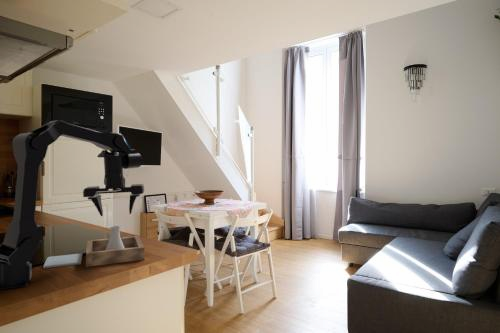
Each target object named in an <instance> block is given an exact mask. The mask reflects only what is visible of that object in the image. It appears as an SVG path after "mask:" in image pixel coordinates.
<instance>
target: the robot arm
mask: <svg viewBox="0 0 500 333" xmlns="http://www.w3.org/2000/svg"><path fill="white" fill-rule="evenodd" d="M60 137H65V138H68V139H73V140H78V141H81V142H86V143H89V144H90V143H91V144H92V145H94V146H96V147H97V148H100V149H102V150H101V152H100V153H99V154H98V155H97V158H103V165H104V166H103V167H104V178H103V185H104V186H105V187H104V188H103V187H100V186H99V185H95V186H94V185H93V186H87V187H86V188H84V189H83V191H82V197H83V198H87V200H90V201H91V202H92V203H93V205H94V206H95V207H96V209H97V211H98V213H99V215H100V217H103V215H104V210H103V204H102V194H103V195H104V194H117V193H118V194H119V193H120V194H121V193H131V194H130V195H129V205H128V208H129V210H128V211H129V215H131V214H132V212H133V208H134V204H135V201H136V200H137V197H140V195H142V194H144V192H145V186H144V184H142V183H137V184H135V183H134V184H131V185H130V186H126V179H125V177H124V170H125V169H135V168H136V169H137V168H140V167H142V165H143V158H142V155H141V154H140V153H139V149H136V148H135V149H131V148H130V147H129V145H128V144H127V142H126V141H125V138H124V137H123V135H122V134H121V133H119V132H108V131H107V132H106V131H104V132H103V131H97V130H94V129H91V128H86V127H82V126H79V125H75V124H71V123H69V122H65V121H64V120H51V121H48V122H47V123H45V124H43V125H42V126H39V127H38V128H36V129H33V130H31V131H29V132H25V133H19V134H17V135H16V136H14V137H13V140H12V142H11V143H12V153H13V156H14V159H15V162H16V164H17V172H16V174H17V175H16V183H15V184H16V185H15V196H14V206H13V207H14V208H13V216H12V217H13V218H12V221H11V222H10V224H9V225H8V227H7V229H6V232H5V235H4V239H3V242H2V243H1V244H0V291H1V290H8V289H15V288H23V287H26V286H27V285H28V284H29V282H30V281H31V279H32V275H33V274H32V269H33V267H32V265H33V264H32V263H31V262H32V260H33V258H34V255H35V252H36V250H38V249H39V248H40V246H41V242H43V241H44V239H43V232H44V226H43V225H39V224H37V222H36V209H37V197H38V186H39V185H38V184H39V175H40V174H39V172H40V166H41V165H42V163H43V161H44V160H45V158H46V155H47V151H48V148H49V146H50V145H52V144H53V143H55V142H56V141H57V140H58V139H59V138H60Z"/></svg>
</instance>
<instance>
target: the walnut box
mask: <svg viewBox="0 0 500 333" xmlns="http://www.w3.org/2000/svg"><path fill="white" fill-rule="evenodd" d="M109 239H110V238H102V239H101V238H99V239H90V240H89V239H88V240H87V244H86V249H85V250H86V251H85V252H86V253H85V267H87V268H88V267H96V266H104V265H113V264H119V263H120V264H121V263H129V262H135V261H136V262H137V261H143V260H145V245H144V244H143V242H142V240H141V238H140V236H139V235H136V236H135V235H134V236H123V237H121V240H122V243H123V245H124V247H125V248H124V249H114V250H106V247H107V244H108V242H109Z"/></svg>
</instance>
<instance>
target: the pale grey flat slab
mask: <svg viewBox="0 0 500 333" xmlns="http://www.w3.org/2000/svg"><path fill="white" fill-rule="evenodd" d="M82 260H83V252H82V253H74V254H62V255H53V256H48V257H47V258H46V260H45V262H44V264H43V266H42V268H43V269H48V268H58V267H66V266H77V265H82Z"/></svg>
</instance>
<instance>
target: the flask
mask: <svg viewBox="0 0 500 333" xmlns="http://www.w3.org/2000/svg"><path fill="white" fill-rule="evenodd" d="M120 229H121V226H120V225H112V226H111V225H110V226H109V230H110V235H109V238H108V239H109V242H108V244H107V247H106V250H114V249H124V248H125V247H124V245H123V243H122V240H121V238H122V237H121V234H120Z"/></svg>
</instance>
